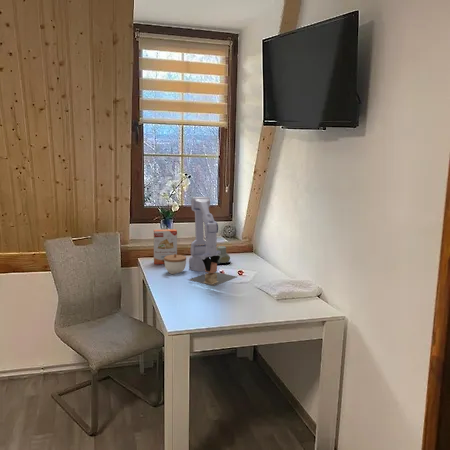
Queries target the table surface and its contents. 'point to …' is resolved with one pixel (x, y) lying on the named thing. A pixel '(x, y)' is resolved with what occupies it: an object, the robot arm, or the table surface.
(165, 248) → the cracker box
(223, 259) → the air freshener
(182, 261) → the lidded bowl
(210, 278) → the maple block
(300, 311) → the table surface
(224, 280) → the plate
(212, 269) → the terracotta block
